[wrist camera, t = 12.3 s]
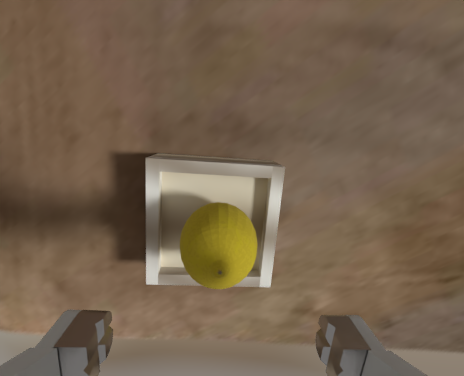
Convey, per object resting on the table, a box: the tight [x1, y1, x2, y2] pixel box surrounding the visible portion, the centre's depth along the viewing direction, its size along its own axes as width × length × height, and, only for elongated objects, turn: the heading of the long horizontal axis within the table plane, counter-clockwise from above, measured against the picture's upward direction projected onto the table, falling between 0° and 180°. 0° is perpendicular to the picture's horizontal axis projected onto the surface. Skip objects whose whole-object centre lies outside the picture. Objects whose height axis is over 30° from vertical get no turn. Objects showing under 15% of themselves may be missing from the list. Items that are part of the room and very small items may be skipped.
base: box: [146, 153, 285, 287], centre depth 22 cm, size 11×11×4 cm
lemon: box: [180, 202, 257, 289], centre depth 18 cm, size 6×6×8 cm
